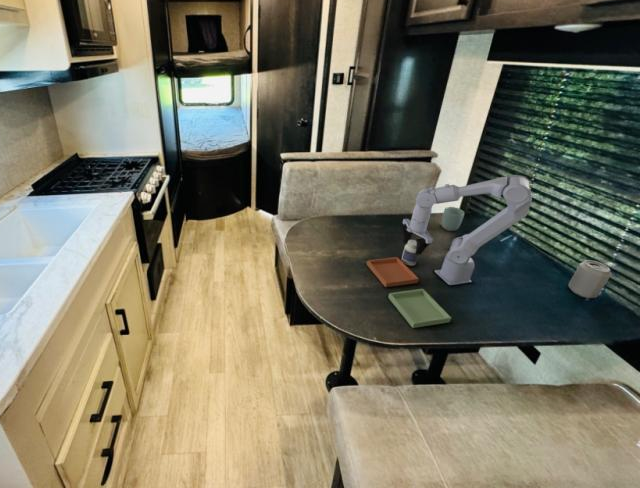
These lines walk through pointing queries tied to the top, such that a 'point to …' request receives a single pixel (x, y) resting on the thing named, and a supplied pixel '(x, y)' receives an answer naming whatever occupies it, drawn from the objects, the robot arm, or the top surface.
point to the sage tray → (419, 308)
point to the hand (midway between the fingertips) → (412, 248)
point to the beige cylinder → (589, 279)
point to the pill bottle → (410, 253)
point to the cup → (452, 218)
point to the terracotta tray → (392, 272)
